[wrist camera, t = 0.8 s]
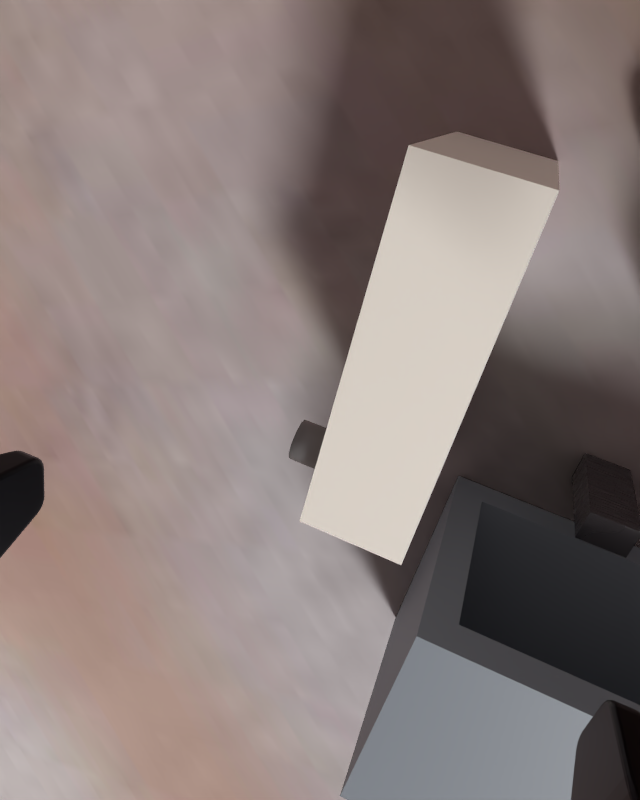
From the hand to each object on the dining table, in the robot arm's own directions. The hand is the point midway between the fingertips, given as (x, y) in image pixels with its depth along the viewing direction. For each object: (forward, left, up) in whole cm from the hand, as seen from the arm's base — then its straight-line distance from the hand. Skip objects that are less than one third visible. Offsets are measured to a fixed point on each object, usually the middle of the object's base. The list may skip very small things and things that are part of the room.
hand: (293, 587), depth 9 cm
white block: (0, -1, -13) cm, 13 cm away
